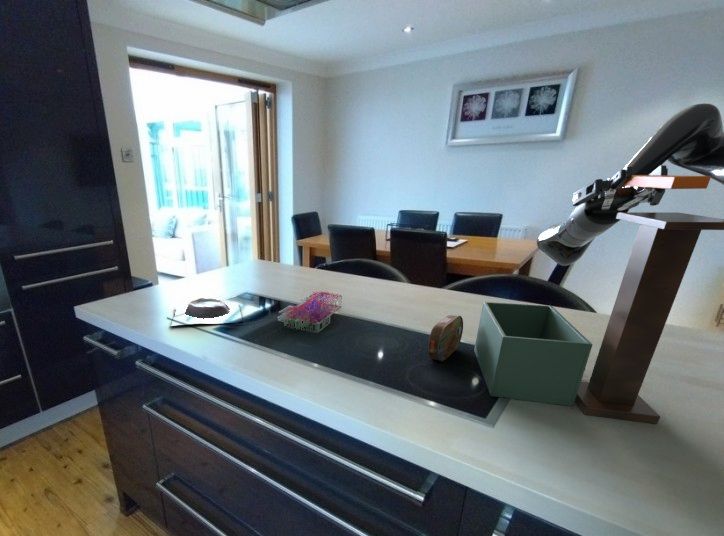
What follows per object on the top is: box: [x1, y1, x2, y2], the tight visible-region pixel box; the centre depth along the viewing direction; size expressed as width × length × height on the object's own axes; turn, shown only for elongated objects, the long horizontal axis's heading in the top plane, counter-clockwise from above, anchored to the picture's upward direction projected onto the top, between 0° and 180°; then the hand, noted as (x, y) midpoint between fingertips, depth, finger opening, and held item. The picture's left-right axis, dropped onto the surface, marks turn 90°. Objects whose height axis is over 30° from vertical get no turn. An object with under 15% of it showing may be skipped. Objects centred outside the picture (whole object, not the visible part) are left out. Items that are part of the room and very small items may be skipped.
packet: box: [623, 174, 712, 190], centre depth 62 cm, size 4×18×2 cm, turn 162°
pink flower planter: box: [277, 291, 343, 334], centre depth 117 cm, size 30×15×5 cm, turn 150°
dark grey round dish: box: [185, 297, 230, 319], centre depth 120 cm, size 21×20×4 cm
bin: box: [473, 301, 594, 407], centre depth 78 cm, size 13×21×12 cm, turn 162°
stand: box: [574, 211, 724, 425], centre depth 63 cm, size 10×14×32 cm
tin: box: [427, 314, 464, 362], centre depth 88 cm, size 15×3×8 cm, turn 137°
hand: (646, 171), depth 64 cm, fingers closed on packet, 4 cm apart
